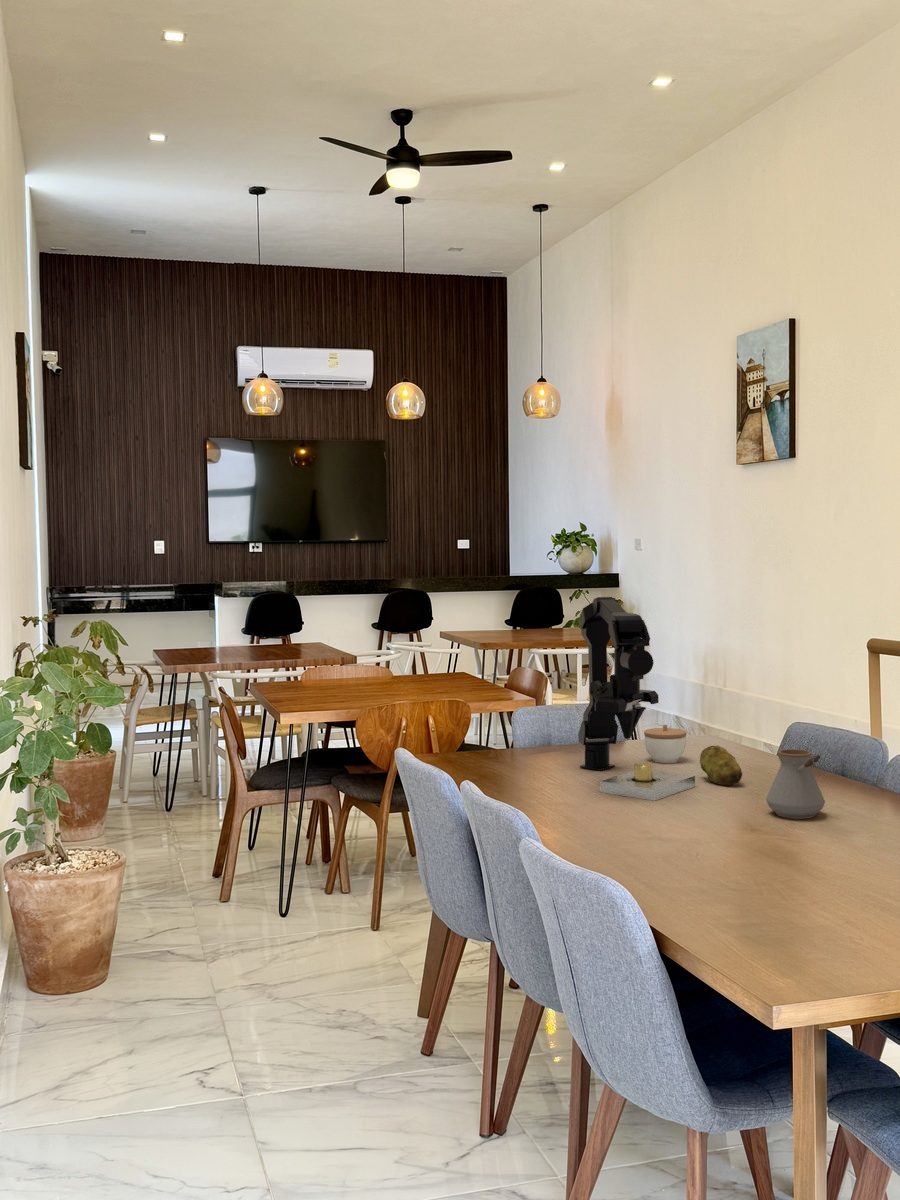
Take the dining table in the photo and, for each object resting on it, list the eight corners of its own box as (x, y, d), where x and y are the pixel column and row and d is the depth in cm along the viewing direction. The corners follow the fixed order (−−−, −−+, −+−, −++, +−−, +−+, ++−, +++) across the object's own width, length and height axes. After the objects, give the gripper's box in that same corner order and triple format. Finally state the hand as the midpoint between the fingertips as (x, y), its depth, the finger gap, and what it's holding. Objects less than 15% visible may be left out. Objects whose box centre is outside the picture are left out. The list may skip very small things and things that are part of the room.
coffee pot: (759, 808, 228) (759, 737, 227) (814, 807, 228) (814, 736, 227) (789, 834, 207) (789, 756, 206) (849, 833, 206) (849, 755, 206)
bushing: (640, 788, 249) (640, 762, 249) (655, 790, 246) (655, 764, 246) (631, 791, 246) (631, 765, 246) (646, 793, 243) (646, 767, 243)
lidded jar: (690, 764, 275) (690, 728, 275) (648, 765, 275) (647, 728, 275) (681, 756, 286) (681, 721, 286) (641, 757, 286) (640, 722, 286)
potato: (707, 788, 248) (707, 753, 248) (697, 776, 261) (697, 743, 260) (744, 787, 248) (744, 753, 247) (732, 776, 260) (732, 743, 260)
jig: (642, 778, 259) (642, 768, 259) (695, 786, 250) (695, 775, 250) (600, 792, 245) (600, 781, 245) (654, 800, 236) (654, 789, 236)
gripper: (618, 664, 259) (618, 729, 260) (574, 672, 244) (574, 740, 245) (659, 667, 252) (659, 734, 252) (617, 675, 237) (617, 746, 238)
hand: (627, 738), depth 247 cm, fingers closed
